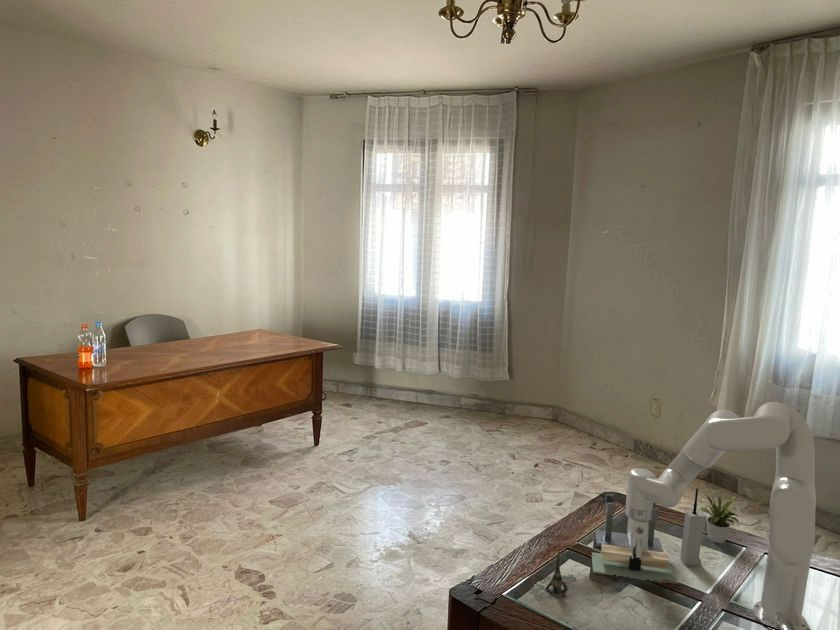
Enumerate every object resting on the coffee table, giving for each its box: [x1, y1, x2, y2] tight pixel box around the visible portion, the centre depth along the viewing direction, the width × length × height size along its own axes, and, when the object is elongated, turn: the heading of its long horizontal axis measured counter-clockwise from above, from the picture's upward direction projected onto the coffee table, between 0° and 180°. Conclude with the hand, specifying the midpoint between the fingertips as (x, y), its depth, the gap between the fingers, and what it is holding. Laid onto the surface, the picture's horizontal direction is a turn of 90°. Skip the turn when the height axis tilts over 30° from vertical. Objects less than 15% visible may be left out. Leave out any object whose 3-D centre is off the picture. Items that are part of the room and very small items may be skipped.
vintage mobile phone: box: [680, 487, 708, 567], centre depth 184 cm, size 4×5×25 cm
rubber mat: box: [591, 551, 679, 584], centre depth 183 cm, size 10×24×1 cm, turn 77°
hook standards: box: [595, 493, 663, 552], centre depth 195 cm, size 8×20×15 cm, turn 77°
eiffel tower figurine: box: [530, 550, 578, 601], centre depth 172 cm, size 15×10×13 cm
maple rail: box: [600, 544, 670, 569], centre depth 182 cm, size 4×19×3 cm, turn 77°
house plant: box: [693, 492, 742, 544], centre depth 198 cm, size 14×14×16 cm
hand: (633, 564), depth 182 cm, fingers closed on maple rail, 3 cm apart
